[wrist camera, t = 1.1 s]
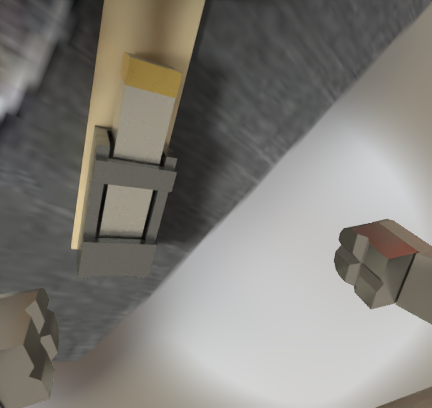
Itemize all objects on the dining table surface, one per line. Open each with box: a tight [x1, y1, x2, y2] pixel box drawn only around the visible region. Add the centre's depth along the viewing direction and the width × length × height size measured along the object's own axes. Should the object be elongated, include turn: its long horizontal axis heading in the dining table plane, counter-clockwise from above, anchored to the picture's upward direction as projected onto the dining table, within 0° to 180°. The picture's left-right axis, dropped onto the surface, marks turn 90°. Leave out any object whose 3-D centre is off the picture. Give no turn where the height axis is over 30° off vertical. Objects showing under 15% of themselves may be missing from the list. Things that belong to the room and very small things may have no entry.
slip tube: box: [95, 52, 182, 240], centre depth 29 cm, size 4×20×4 cm, turn 162°
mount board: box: [71, 0, 205, 249], centre depth 30 cm, size 8×34×1 cm, turn 162°
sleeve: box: [77, 125, 177, 279], centre depth 31 cm, size 7×14×6 cm, turn 162°
